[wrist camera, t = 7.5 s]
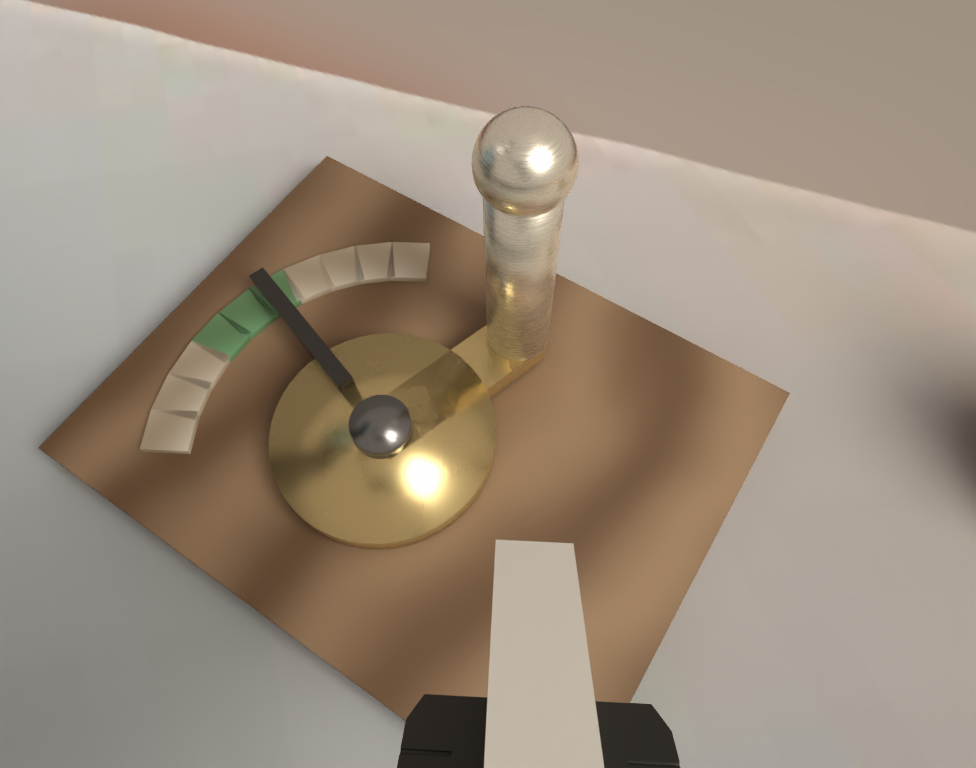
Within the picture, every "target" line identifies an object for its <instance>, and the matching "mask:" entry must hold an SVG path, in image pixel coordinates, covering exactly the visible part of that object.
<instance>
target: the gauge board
mask: <svg viewBox="0 0 976 768" xmlns="http://www.w3.org/2000/svg"><path fill="white" fill-rule="evenodd" d="M262 267H263V268H264V269H265V270H266V272H267V273H268V274H269V275H270V277H271V278H272V279H273V280H274V281H275V283H276V284H277V285H278V286H279V288H280V289H281V290H282V291H283V292H284V294H285V295H286V296H287V297H288V299H289V300H290V301H291V302H292V304H293V305H294V306H295V307H296V308H297V310H298V311H299V312H300V313H301V315H302V316H303V317H304V318H305V319H306V321H307V322H308V323H309V324H310V326H311V327H312V328H313V329H314V330H315V332H316V333H317V334H318V335H319V337H320V338H321V339H322V340H323V341H324V343H325V344H326V345H327V346H328V348H329V349H330V348H332V347H334V346H336V345H339V344H341V343H343V342H345V341H348V340H352V339H355V338H358V337H362V336H367V335H372V334H383V333H398V334H407V335H414V336H418V337H422V338H425V339H429V340H431V341H434V342H436V343H439V344H441V345H443V346H444V347H446V348H448V349H450V350H451V349H453V348H454V347H456V346H457V345H458V344H460V343H461V342H463V341H464V340H466V339H467V338H468V337H470V336H471V335H473V334H474V333H476V332H477V331H478V330H480V329H481V328H483V327H484V326H486V325H487V318H486V287H485V256H484V236H482V235H480V234H478V233H476V232H474V231H472V230H470V229H468V228H467V227H465V226H463V225H461V224H459V223H457V222H455V221H453V220H451V219H449V218H447V217H445V216H443V215H441V214H439V213H437V212H435V211H433V210H431V209H429V208H427V207H426V206H424V205H422V204H420V203H418V202H416V201H414V200H412V199H410V198H408V197H406V196H404V195H402V194H400V193H398V192H396V191H394V190H392V189H390V188H388V187H386V186H385V185H383V184H381V183H379V182H377V181H375V180H373V179H371V178H369V177H367V176H365V175H363V174H361V173H359V172H357V171H355V170H353V169H351V168H349V167H347V166H345V165H344V164H342V163H340V162H338V161H336V160H334V159H332V158H330V157H328V156H327V157H326V158H325V159H324V160H323V161H322V162H321V163H320V164H319V165H318V166H317V167H316V168H315V169H314V170H313V171H312V172H311V173H310V174H309V175H308V176H307V177H306V178H305V179H304V180H303V181H302V182H301V183H300V184H299V185H298V186H297V187H296V188H295V189H294V190H293V191H292V192H291V193H290V194H289V195H288V196H287V197H286V198H285V199H284V200H283V201H282V202H281V203H280V204H279V205H278V206H277V207H276V208H275V209H274V210H273V211H272V212H271V213H270V214H269V215H268V216H267V217H266V218H265V219H264V220H263V221H262V222H261V223H260V224H259V225H258V226H257V227H256V228H255V229H254V230H253V231H252V232H251V233H250V234H249V235H248V236H247V237H246V238H245V239H244V240H243V241H242V242H241V243H240V244H239V245H238V246H237V247H236V248H235V249H234V250H233V252H232V253H231V254H230V255H229V256H228V257H227V258H226V259H225V260H224V261H223V262H222V263H221V264H220V265H219V266H218V267H217V268H216V269H215V270H214V271H213V272H212V273H211V274H210V275H209V276H208V277H207V278H206V279H205V280H204V281H203V282H202V283H201V284H200V285H199V286H198V287H197V288H196V289H195V290H194V291H193V292H192V293H191V294H190V295H189V296H188V297H187V298H186V299H185V300H184V301H183V302H182V303H181V304H180V305H179V306H178V307H177V308H176V309H175V310H174V311H173V312H172V313H171V314H170V315H169V316H168V317H167V318H166V319H165V320H164V321H163V322H162V323H161V324H160V325H159V326H158V327H157V328H156V329H155V330H154V331H153V332H152V333H151V334H150V335H149V336H148V337H147V338H146V339H145V340H144V341H143V342H142V343H141V344H140V345H139V346H138V347H137V348H136V350H135V351H134V352H133V353H132V354H131V355H130V356H129V357H128V358H127V359H126V360H125V361H124V362H123V363H122V364H121V365H120V366H119V367H118V368H117V369H116V370H115V371H114V372H113V373H112V374H111V375H110V376H109V377H108V378H107V379H106V380H105V381H104V382H103V383H102V384H101V385H100V386H99V387H98V388H97V389H96V390H95V391H94V392H93V393H92V394H91V395H90V396H89V397H88V398H87V399H86V400H85V401H84V402H83V403H82V404H81V405H80V406H79V407H78V408H77V409H76V410H75V411H74V412H73V413H72V414H71V415H70V416H69V417H68V418H67V419H66V420H65V421H64V422H63V423H62V424H61V425H60V426H59V427H58V428H57V429H56V430H55V431H54V432H53V433H52V434H51V435H50V436H49V437H48V438H47V439H46V440H45V441H44V442H43V443H42V444H41V445H40V446H39V449H41V450H42V451H43V452H45V453H46V454H47V455H49V456H50V457H51V458H53V459H54V460H55V461H57V462H58V463H59V464H61V465H62V466H64V467H65V468H66V469H68V470H69V471H70V472H72V473H73V474H74V475H76V476H77V477H78V478H80V479H81V480H82V481H84V482H85V483H86V484H88V485H89V486H90V487H92V488H93V489H94V490H96V491H97V492H98V493H100V494H101V495H103V496H104V497H105V498H107V499H108V500H109V501H111V502H112V503H113V504H115V505H116V506H117V507H119V508H120V509H121V510H123V511H124V512H125V513H127V514H128V515H129V516H131V517H132V518H133V519H135V520H136V521H138V522H139V523H140V524H142V525H143V526H144V527H146V528H147V529H148V530H150V531H151V532H152V533H154V534H155V535H156V536H158V537H159V538H160V539H162V540H163V541H164V542H166V543H167V544H168V545H170V546H171V547H172V548H174V549H175V550H177V551H178V552H179V553H181V554H182V555H183V556H185V557H186V558H187V559H189V560H190V561H191V562H193V563H194V564H195V565H197V566H198V567H199V568H201V569H202V570H203V571H205V572H206V573H207V574H209V575H210V576H212V577H213V578H214V579H216V580H217V581H218V582H220V583H221V584H222V585H224V586H225V587H226V588H228V589H229V590H230V591H232V592H233V593H234V594H236V595H237V596H238V597H240V598H241V599H242V600H244V601H245V602H247V603H248V604H249V605H251V606H252V607H253V608H255V609H256V610H257V611H259V612H260V613H261V614H263V615H264V616H265V617H267V618H268V619H269V620H271V621H272V622H273V623H275V624H276V625H277V626H279V627H280V628H281V629H283V630H284V631H286V632H287V633H288V634H290V635H291V636H292V637H294V638H295V639H296V640H298V641H299V642H300V643H302V644H303V645H304V646H306V647H307V648H308V649H310V650H311V651H312V652H314V653H315V654H316V655H318V656H319V657H321V658H322V659H323V660H325V661H326V662H327V663H329V664H330V665H331V666H333V667H334V668H335V669H337V670H338V671H339V672H341V673H342V674H343V675H345V676H346V677H347V678H349V679H350V680H351V681H353V682H354V683H356V684H357V685H358V686H360V687H361V688H362V689H364V690H365V691H366V692H368V693H369V694H370V695H372V696H373V697H374V698H376V699H377V700H378V701H380V702H381V703H382V704H384V705H385V706H386V707H388V708H389V709H390V710H392V711H393V712H395V713H396V714H397V715H399V716H400V717H401V718H403V719H404V720H405V721H406V718H407V717H408V716H409V714H410V713H411V712H412V710H413V709H414V707H415V706H416V705H417V703H418V702H419V701H420V699H421V698H422V697H423V695H424V694H433V695H451V696H470V697H488V678H489V659H490V640H491V620H492V601H493V582H494V563H495V544H496V540H515V541H535V542H556V543H573V544H574V551H575V559H576V566H577V573H578V580H579V588H580V595H581V602H582V609H583V617H584V624H585V631H586V638H587V646H588V653H589V660H590V667H591V675H592V682H593V689H594V696H595V701H600V702H619V703H630V701H631V699H632V697H633V695H634V694H635V692H636V690H637V688H638V686H639V684H640V682H641V680H642V678H643V676H644V674H645V672H646V670H647V668H648V666H649V665H650V663H651V661H652V659H653V657H654V655H655V653H656V651H657V649H658V647H659V645H660V643H661V641H662V639H663V637H664V636H665V634H666V632H667V630H668V628H669V626H670V624H671V622H672V620H673V618H674V616H675V614H676V612H677V610H678V608H679V606H680V605H681V603H682V601H683V599H684V597H685V595H686V593H687V591H688V589H689V587H690V585H691V583H692V581H693V579H694V577H695V576H696V574H697V572H698V570H699V568H700V566H701V564H702V562H703V560H704V558H705V556H706V554H707V552H708V550H709V548H710V547H711V545H712V543H713V541H714V539H715V537H716V535H717V533H718V531H719V529H720V527H721V525H722V523H723V521H724V519H725V518H726V516H727V514H728V512H729V510H730V508H731V506H732V504H733V502H734V500H735V498H736V496H737V494H738V492H739V490H740V488H741V487H742V485H743V483H744V481H745V479H746V477H747V475H748V473H749V471H750V469H751V467H752V465H753V463H754V461H755V459H756V458H757V456H758V454H759V452H760V450H761V448H762V446H763V444H764V442H765V440H766V438H767V436H768V434H769V432H770V430H771V429H772V427H773V425H774V423H775V421H776V419H777V417H778V415H779V413H780V411H781V409H782V407H783V405H784V403H785V401H786V400H787V398H788V396H789V394H790V393H789V392H787V391H785V390H783V389H781V388H779V387H777V386H775V385H773V384H771V383H769V382H767V381H765V380H763V379H761V378H759V377H757V376H755V375H754V374H752V373H750V372H748V371H746V370H744V369H742V368H740V367H738V366H736V365H734V364H732V363H730V362H728V361H726V360H724V359H722V358H720V357H718V356H716V355H714V354H713V353H711V352H709V351H707V350H705V349H703V348H701V347H699V346H697V345H695V344H693V343H691V342H689V341H687V340H685V339H683V338H681V337H679V336H677V335H675V334H673V333H672V332H670V331H668V330H666V329H664V328H662V327H660V326H658V325H656V324H654V323H652V322H650V321H648V320H646V319H644V318H642V317H640V316H638V315H636V314H634V313H632V312H631V311H629V310H627V309H625V308H623V307H621V306H619V305H617V304H615V303H613V302H611V301H609V300H607V299H605V298H603V297H601V296H599V295H597V294H595V293H593V292H591V291H590V290H588V289H586V288H584V287H582V286H580V285H578V284H576V283H574V282H572V281H570V280H568V279H566V278H564V277H562V276H560V275H558V274H556V276H555V285H554V293H553V302H552V310H551V319H550V328H549V336H548V342H547V344H546V346H545V354H544V359H542V360H541V361H540V362H538V363H537V364H536V365H534V366H533V367H531V368H530V369H529V370H527V371H526V372H525V373H523V374H522V375H521V376H519V377H518V378H517V379H515V380H514V381H512V382H511V383H510V384H508V385H507V386H506V387H504V388H503V389H502V390H500V391H499V392H497V393H496V394H495V395H493V396H492V397H491V398H490V399H491V402H492V406H493V410H494V414H495V424H496V450H495V456H494V462H493V466H492V469H491V472H490V475H489V478H488V480H487V482H486V484H485V486H484V488H483V490H482V492H481V493H480V495H479V496H478V498H477V499H476V501H475V502H474V504H473V505H472V506H471V507H470V508H469V509H468V510H467V512H466V513H465V514H464V515H463V516H462V517H460V518H459V519H458V520H457V521H456V522H455V523H454V524H452V525H451V526H449V527H448V528H446V529H445V530H444V531H442V532H441V533H439V534H437V535H435V536H433V537H431V538H429V539H427V540H424V541H422V542H419V543H416V544H413V545H410V546H405V547H401V548H396V549H385V550H373V549H362V548H356V547H351V546H347V545H344V544H341V543H338V542H335V541H333V540H331V539H329V538H327V537H325V536H323V535H322V534H320V533H319V532H317V531H316V530H314V529H313V528H311V527H310V526H309V525H308V524H307V523H306V522H305V521H303V520H302V519H301V518H300V516H299V515H298V514H297V513H296V512H295V511H294V509H293V508H292V507H291V506H290V505H289V503H288V502H287V501H286V500H285V498H284V496H283V495H282V493H281V491H280V490H279V488H278V486H277V483H276V481H275V478H274V476H273V472H272V468H271V464H270V458H269V433H270V427H271V422H272V418H273V415H274V412H275V409H276V407H277V405H278V403H279V401H280V399H281V396H282V395H283V393H284V391H285V390H286V388H287V387H288V385H289V384H290V382H291V381H292V380H293V379H294V378H295V376H296V375H297V374H298V373H299V372H300V371H301V370H302V369H303V368H304V367H305V366H306V365H307V364H308V363H309V362H311V361H312V360H314V359H313V357H312V356H311V355H310V354H309V352H308V351H307V350H306V348H305V347H304V346H303V345H302V343H301V342H300V341H299V340H298V338H297V337H296V336H295V335H294V333H293V332H292V331H291V330H290V328H289V327H288V326H287V325H286V323H285V322H284V321H283V320H282V318H281V317H280V316H279V315H278V313H277V312H276V311H275V310H274V308H273V307H272V306H271V305H270V303H269V302H268V301H267V300H266V298H265V297H264V296H263V295H262V293H261V292H260V291H259V290H258V288H257V287H256V286H255V285H254V283H253V282H252V280H251V278H250V276H249V275H251V274H253V273H254V272H256V271H257V270H259V269H261V268H262Z"/></svg>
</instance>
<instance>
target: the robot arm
mask: <svg viewBox="0 0 976 768" xmlns="http://www.w3.org/2000/svg"><path fill="white" fill-rule="evenodd" d="M397 768H680V766H679V758H678V754H677V750H676V747H675V743H674V739H673V735H672V731H671V730H670V728H669V727H668V726H667V724H666V723H665V722H664V721H663V719H662V718H661V717H660V715H659V714H658V713H657V711H656V710H655V709H654V707H653V706H652V705H651V704H637V703H619V702H600V701H595V696H594V689H593V682H592V675H591V667H590V660H589V653H588V646H587V638H586V631H585V624H584V617H583V609H582V602H581V595H580V588H579V580H578V573H577V566H576V559H575V551H574V544H573V543H556V542H535V541H515V540H496V544H495V563H494V582H493V601H492V620H491V640H490V659H489V678H488V697H470V696H451V695H433V694H424V695H423V697H422V698H421V699H420V701H419V702H418V703H417V705H416V706H415V707H414V709H413V710H412V712H411V713H410V714H409V716H408V717H407V718H406V723H405V728H404V734H403V739H402V744H401V752H400V755H399V760H398V765H397Z"/></svg>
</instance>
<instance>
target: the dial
mask: <svg viewBox="0 0 976 768" xmlns="http://www.w3.org/2000/svg"><path fill="white" fill-rule="evenodd" d="M578 163H579V160H578V150H577V146H576V143H575V140H574V138H573V136H572V134H571V132H570V130H569V129H568V127H567V126H566V125H565V124H564V123H563V122H562V121H561V120H560V119H559V118H558V117H556V116H555V115H554V114H552V113H550V112H549V111H546V110H544V109H541V108H537V107H530V106H521V107H514V108H511V109H508V110H505V111H503V112H501V113H499V114H498V115H496V116H495V117H493V118H492V119H491V120H490V121H489V122H488V123H487V124H486V125H485V126H484V128H483V129H482V131H481V132H480V134H479V135H478V138H477V140H476V142H475V145H474V149H473V153H472V173H473V177H474V181H475V184H476V186H477V188H478V190H479V192H480V194H481V195H482V196H483V225H484V256H485V287H486V318H487V325H486V326H484V327H483V328H481V329H480V330H478V331H477V332H476V333H474V334H473V335H471V336H470V337H468V338H467V339H466V340H464V341H463V342H461V343H460V344H458V345H457V346H456V347H454V348H453V349H451V350H450V349H448V348H446V347H444V346H443V345H441V344H439V343H436V342H434V341H431V340H429V339H425V338H422V337H418V336H414V335H407V334H398V333H383V334H372V335H367V336H362V337H358V338H355V339H352V340H348V341H345V342H343V343H341V344H339V345H336V346H334V347H332V348H330V349H329V348H328V346H327V345H326V344H325V343H324V341H323V340H322V339H321V338H320V337H319V335H318V334H317V333H316V332H315V330H314V329H313V328H312V327H311V326H310V324H309V323H308V322H307V321H306V319H305V318H304V317H303V316H302V315H301V313H300V312H299V311H298V310H297V308H296V307H295V306H294V305H293V304H292V302H291V301H290V300H289V299H288V297H287V296H286V295H285V294H284V292H283V291H282V290H281V289H280V288H279V286H278V285H277V284H276V283H275V281H274V280H273V279H272V278H271V277H270V275H269V274H268V273H267V272H266V270H265V269H264V268H263V267H262V268H261V269H259V270H257V271H256V272H254V273H253V274H251V275H249V276H250V278H251V280H252V282H253V283H254V285H255V286H256V287H257V288H258V290H259V291H260V292H261V293H262V295H263V296H264V297H265V298H266V300H267V301H268V302H269V303H270V305H271V306H272V307H273V308H274V310H275V311H276V312H277V313H278V315H279V316H280V317H281V318H282V320H283V321H284V322H285V323H286V325H287V326H288V327H289V328H290V330H291V331H292V332H293V333H294V335H295V336H296V337H297V338H298V340H299V341H300V342H301V343H302V345H303V346H304V347H305V348H306V350H307V351H308V352H309V354H310V355H311V356H312V357H313V359H314V360H312V361H311V362H309V363H308V364H307V365H306V366H305V367H304V368H303V369H302V370H301V371H300V372H299V373H298V374H297V375H296V376H295V378H294V379H293V380H292V381H291V382H290V384H289V385H288V387H287V388H286V390H285V391H284V393H283V395H282V396H281V399H280V401H279V403H278V405H277V407H276V409H275V412H274V415H273V418H272V422H271V427H270V433H269V458H270V464H271V468H272V472H273V476H274V478H275V481H276V483H277V486H278V488H279V490H280V491H281V493H282V495H283V496H284V498H285V500H286V501H287V502H288V503H289V505H290V506H291V507H292V508H293V509H294V511H295V512H296V513H297V514H298V515H299V516H300V518H301V519H302V520H303V521H305V522H306V523H307V524H308V525H309V526H310V527H311V528H313V529H314V530H316V531H317V532H319V533H320V534H322V535H323V536H325V537H327V538H329V539H331V540H333V541H335V542H338V543H341V544H344V545H347V546H351V547H356V548H362V549H373V550H385V549H396V548H401V547H405V546H410V545H413V544H416V543H419V542H422V541H424V540H427V539H429V538H431V537H433V536H435V535H437V534H439V533H441V532H442V531H444V530H445V529H446V528H448V527H449V526H451V525H452V524H454V523H455V522H456V521H457V520H458V519H459V518H460V517H462V516H463V515H464V514H465V513H466V512H467V510H468V509H469V508H470V507H471V506H472V505H473V504H474V502H475V501H476V499H477V498H478V496H479V495H480V493H481V492H482V490H483V488H484V486H485V484H486V482H487V480H488V478H489V475H490V472H491V469H492V466H493V462H494V456H495V450H496V424H495V414H494V410H493V406H492V402H491V399H490V398H491V397H492V396H493V395H495V394H496V393H497V392H499V391H500V390H502V389H503V388H504V387H506V386H507V385H508V384H510V383H511V382H512V381H514V380H515V379H517V378H518V377H519V376H521V375H522V374H523V373H525V372H526V371H527V370H529V369H530V368H531V367H533V366H534V365H536V364H537V363H538V362H540V361H541V360H542V359H544V354H545V346H546V344H547V342H548V336H549V328H550V319H551V310H552V302H553V293H554V285H555V276H556V267H557V259H558V250H559V242H560V233H561V224H562V216H563V207H564V199H565V198H566V197H567V195H568V194H569V192H570V191H571V189H572V187H573V185H574V183H575V180H576V177H577V172H578Z"/></svg>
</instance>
